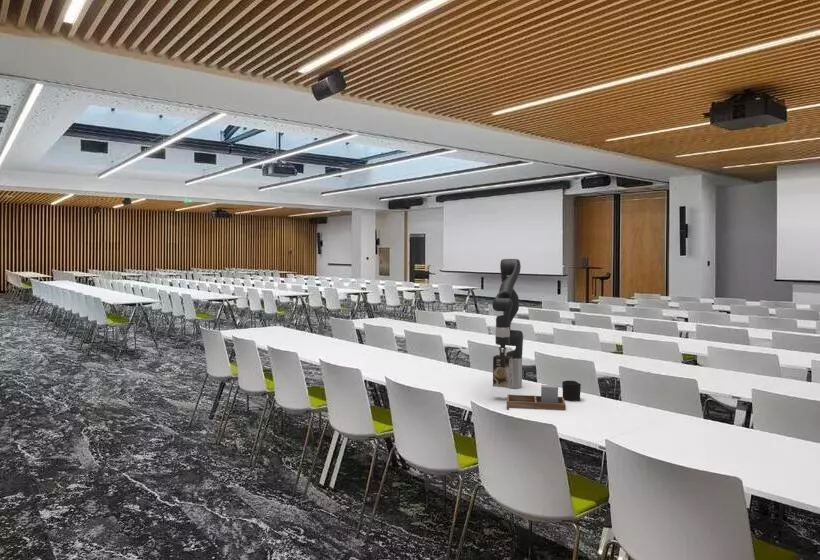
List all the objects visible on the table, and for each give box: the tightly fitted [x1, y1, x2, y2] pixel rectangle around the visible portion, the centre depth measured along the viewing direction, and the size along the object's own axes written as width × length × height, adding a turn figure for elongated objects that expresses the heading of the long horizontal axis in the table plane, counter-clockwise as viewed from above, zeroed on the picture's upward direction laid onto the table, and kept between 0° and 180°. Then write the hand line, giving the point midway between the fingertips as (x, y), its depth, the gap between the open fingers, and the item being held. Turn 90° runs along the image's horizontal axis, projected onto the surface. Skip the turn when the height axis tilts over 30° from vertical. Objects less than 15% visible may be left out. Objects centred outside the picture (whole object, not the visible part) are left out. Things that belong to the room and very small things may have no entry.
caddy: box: [506, 394, 567, 411], centre depth 296 cm, size 15×28×4 cm, turn 80°
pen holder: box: [561, 380, 582, 402], centre depth 307 cm, size 9×9×10 cm
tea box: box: [540, 384, 559, 404], centre depth 295 cm, size 5×8×10 cm, turn 80°
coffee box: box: [492, 354, 512, 389], centre depth 311 cm, size 9×6×16 cm
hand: (502, 365), depth 311 cm, fingers closed on coffee box, 7 cm apart
